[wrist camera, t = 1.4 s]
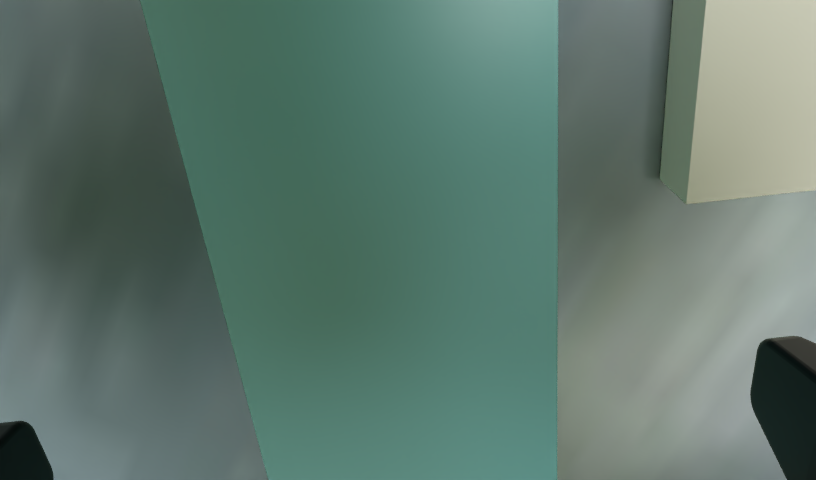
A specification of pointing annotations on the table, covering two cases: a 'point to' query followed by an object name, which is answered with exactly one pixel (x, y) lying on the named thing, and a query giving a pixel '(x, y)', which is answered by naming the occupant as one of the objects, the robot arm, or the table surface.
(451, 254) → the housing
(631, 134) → the table surface
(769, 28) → the base plate
